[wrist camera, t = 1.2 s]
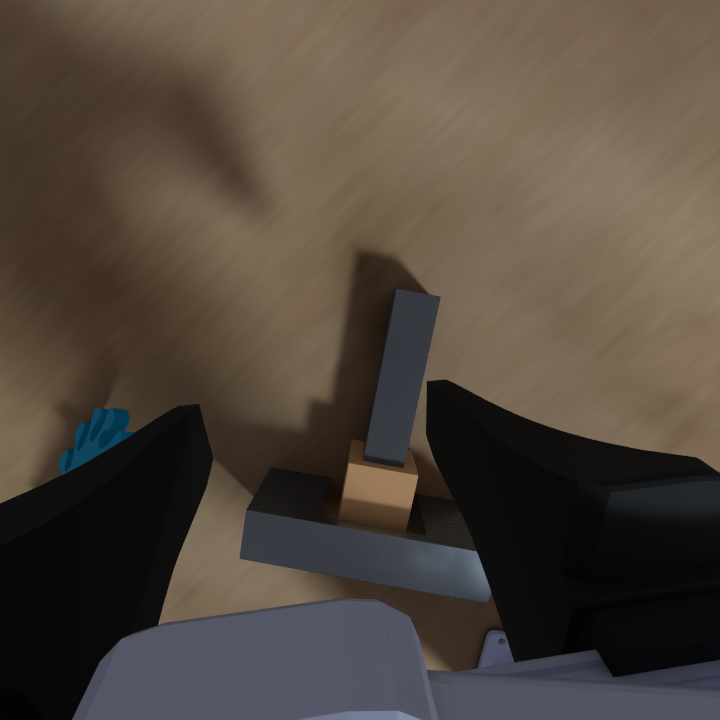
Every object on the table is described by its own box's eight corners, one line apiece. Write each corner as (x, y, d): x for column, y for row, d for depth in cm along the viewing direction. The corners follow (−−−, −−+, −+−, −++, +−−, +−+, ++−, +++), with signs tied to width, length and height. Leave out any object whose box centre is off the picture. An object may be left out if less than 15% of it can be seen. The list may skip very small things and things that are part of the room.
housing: (475, 504, 25) (501, 556, 20) (465, 544, 25) (488, 603, 20) (271, 467, 25) (246, 509, 20) (264, 507, 25) (239, 558, 20)
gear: (107, 369, 22) (109, 525, 16) (198, 392, 27) (226, 521, 21) (28, 478, 25) (5, 644, 19) (121, 482, 30) (127, 618, 24)
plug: (380, 287, 23) (382, 285, 19) (443, 299, 23) (458, 299, 19) (338, 507, 25) (334, 541, 22) (396, 517, 25) (400, 553, 22)
